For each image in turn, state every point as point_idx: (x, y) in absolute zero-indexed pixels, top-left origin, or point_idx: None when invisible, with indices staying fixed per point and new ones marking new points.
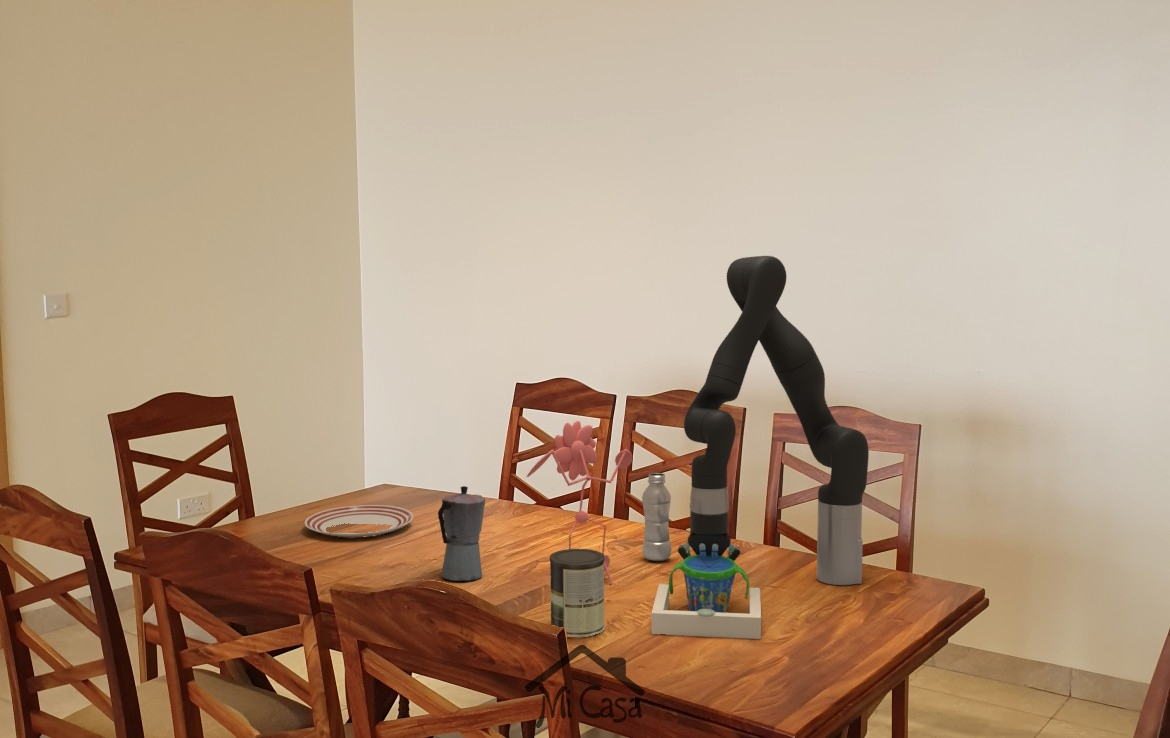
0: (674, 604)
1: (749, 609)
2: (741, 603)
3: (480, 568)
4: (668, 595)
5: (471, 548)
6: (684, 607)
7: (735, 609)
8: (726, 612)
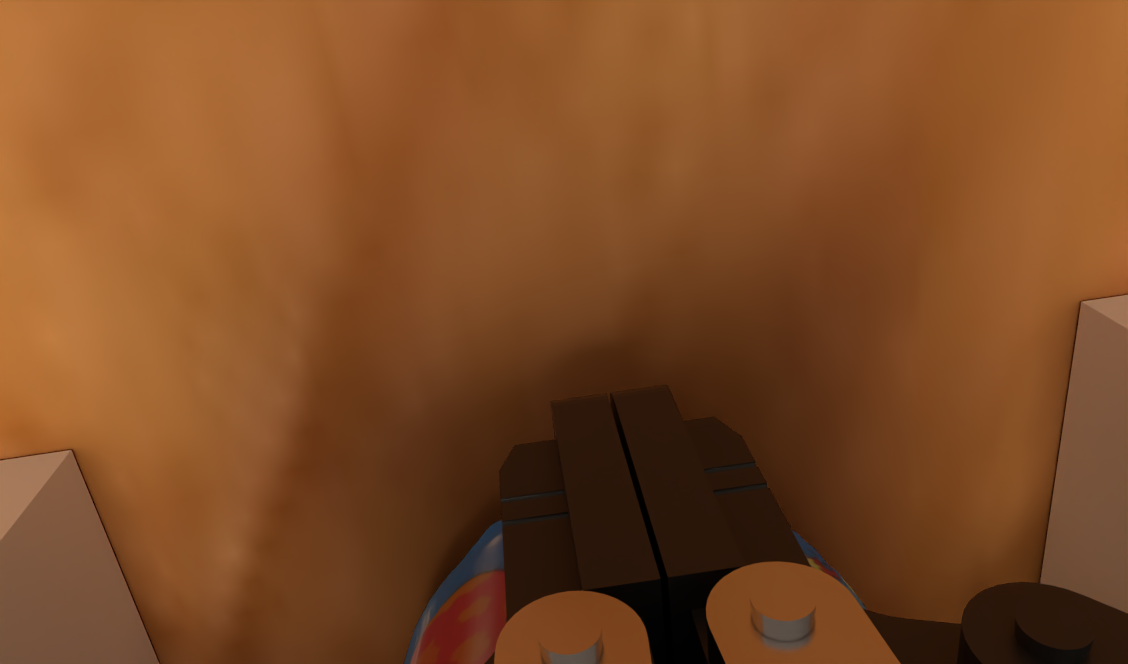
0: (148, 447)
1: (1071, 413)
2: (997, 180)
3: None
4: (48, 647)
5: None
6: (308, 511)
7: (908, 416)
8: None
